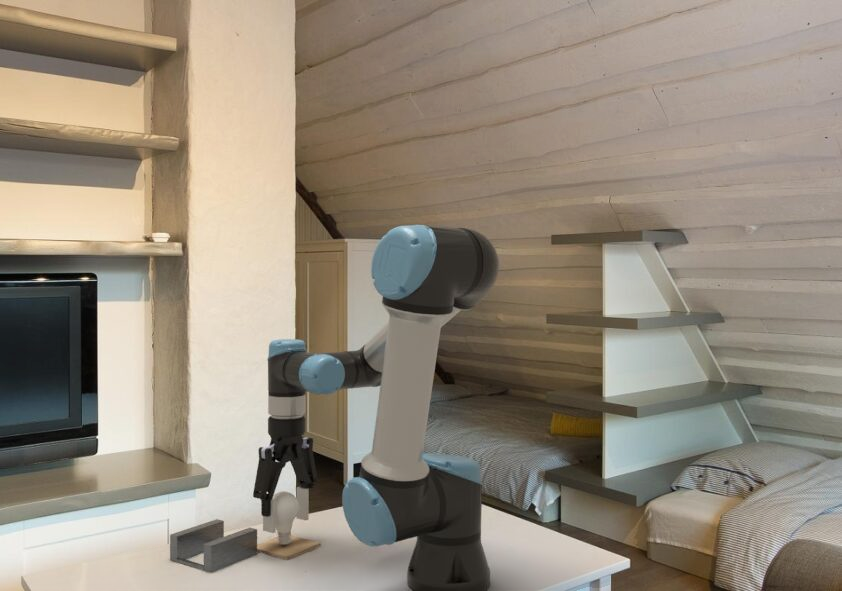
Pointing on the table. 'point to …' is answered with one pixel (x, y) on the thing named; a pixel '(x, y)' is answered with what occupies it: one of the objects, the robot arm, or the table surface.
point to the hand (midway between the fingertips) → (286, 525)
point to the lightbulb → (285, 515)
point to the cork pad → (287, 547)
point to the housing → (212, 545)
